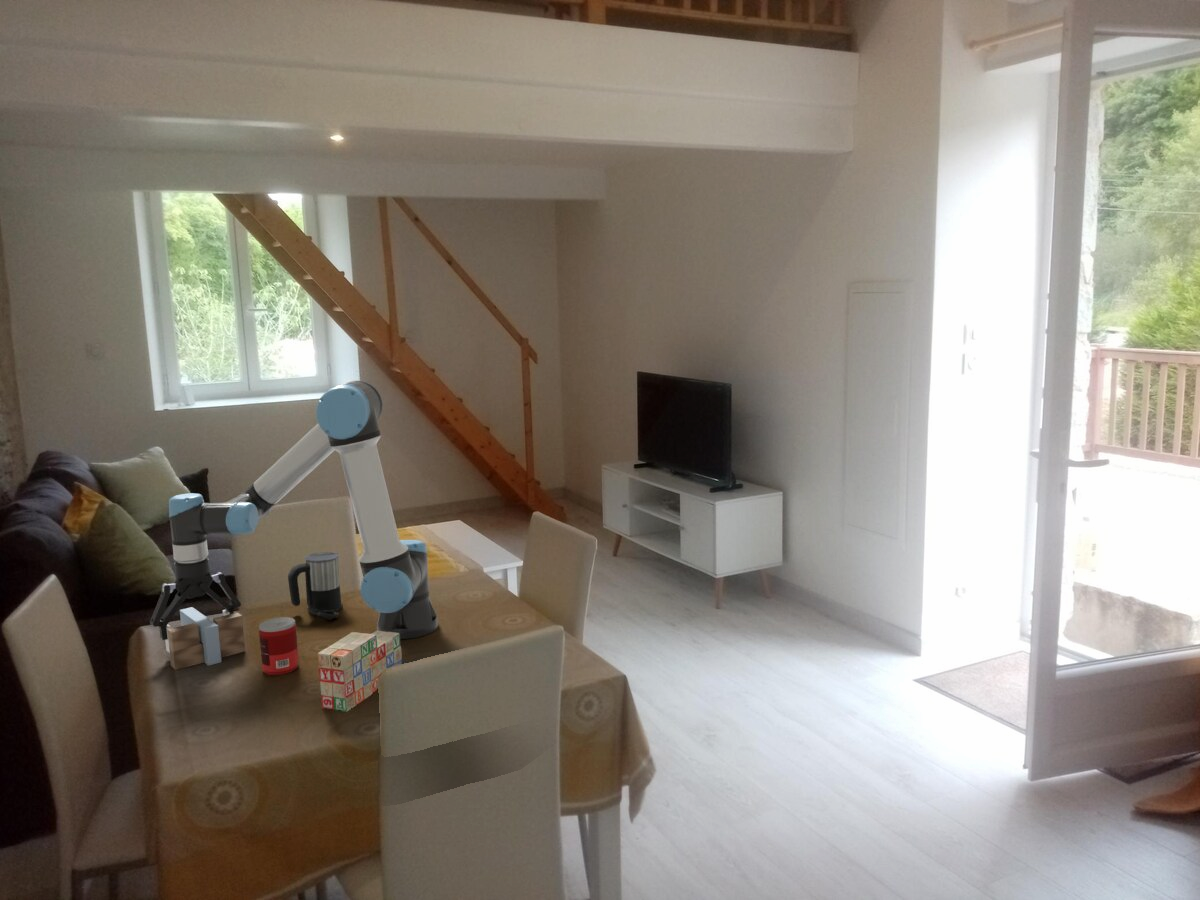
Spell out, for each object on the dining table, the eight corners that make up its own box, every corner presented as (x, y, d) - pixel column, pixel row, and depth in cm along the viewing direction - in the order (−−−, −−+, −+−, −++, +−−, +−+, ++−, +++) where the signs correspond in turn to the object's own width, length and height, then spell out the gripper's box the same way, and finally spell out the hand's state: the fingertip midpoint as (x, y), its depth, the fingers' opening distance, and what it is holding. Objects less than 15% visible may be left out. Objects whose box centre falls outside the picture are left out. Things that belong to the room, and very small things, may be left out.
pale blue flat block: (221, 662, 211) (218, 625, 210) (208, 665, 209) (204, 628, 208) (195, 641, 225) (192, 607, 223) (183, 644, 223) (179, 609, 221)
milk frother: (329, 600, 254) (325, 549, 251) (365, 611, 245) (362, 558, 242) (285, 615, 243) (280, 561, 240) (321, 626, 233) (317, 571, 231)
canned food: (305, 664, 209) (302, 618, 207) (283, 677, 202) (279, 630, 200) (278, 660, 212) (274, 615, 210) (255, 673, 204) (251, 627, 202)
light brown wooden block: (240, 647, 220) (237, 612, 218) (245, 651, 218) (242, 615, 216) (171, 666, 209) (167, 629, 208) (175, 669, 207) (171, 632, 206)
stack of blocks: (379, 668, 206) (376, 617, 204) (403, 672, 204) (400, 620, 202) (321, 708, 186) (316, 652, 184) (347, 712, 184) (343, 655, 182)
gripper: (238, 545, 225) (245, 626, 228) (129, 566, 209) (139, 653, 212) (249, 551, 219) (257, 634, 223) (139, 573, 203) (148, 662, 207)
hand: (199, 644), depth 218 cm, fingers open, 13 cm apart
